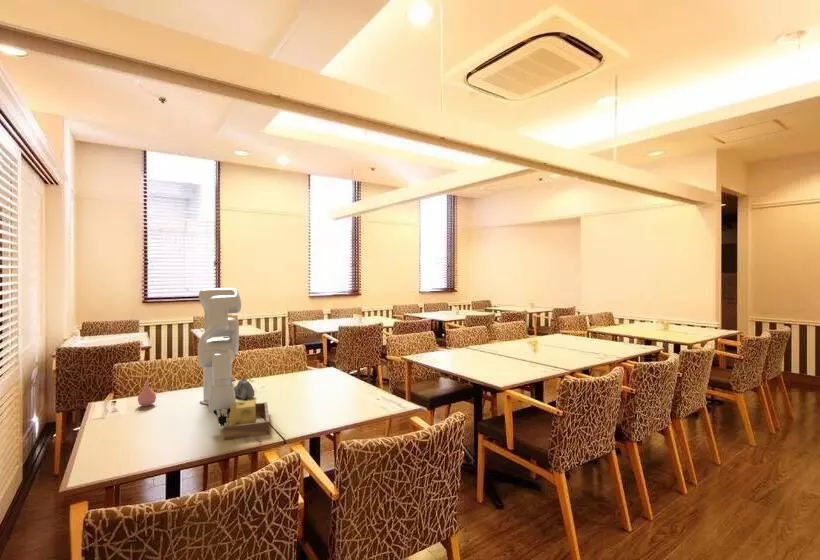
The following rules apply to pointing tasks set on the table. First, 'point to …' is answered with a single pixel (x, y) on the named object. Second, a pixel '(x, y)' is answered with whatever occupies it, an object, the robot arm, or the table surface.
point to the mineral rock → (244, 389)
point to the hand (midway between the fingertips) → (222, 424)
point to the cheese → (243, 413)
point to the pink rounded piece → (146, 396)
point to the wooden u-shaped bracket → (249, 425)
